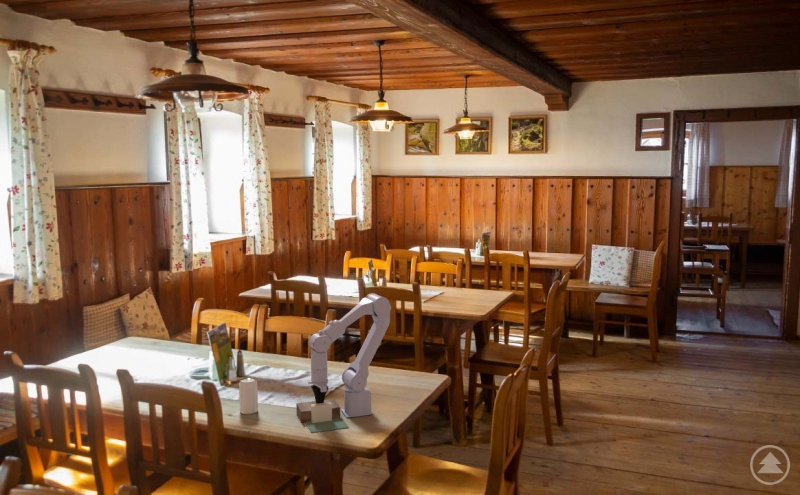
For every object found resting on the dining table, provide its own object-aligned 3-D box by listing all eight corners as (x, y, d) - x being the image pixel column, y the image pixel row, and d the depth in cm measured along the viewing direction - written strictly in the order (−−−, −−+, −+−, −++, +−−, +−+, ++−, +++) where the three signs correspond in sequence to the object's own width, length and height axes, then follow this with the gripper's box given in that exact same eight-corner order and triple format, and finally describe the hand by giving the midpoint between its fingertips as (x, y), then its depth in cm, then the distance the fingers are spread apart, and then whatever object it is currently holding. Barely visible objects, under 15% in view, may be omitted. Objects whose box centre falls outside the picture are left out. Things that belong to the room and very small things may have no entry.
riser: (334, 409, 246) (334, 398, 245) (340, 418, 237) (340, 407, 237) (296, 413, 241) (296, 403, 241) (301, 422, 233) (301, 411, 232)
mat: (341, 418, 237) (341, 417, 237) (348, 427, 228) (348, 427, 228) (305, 422, 233) (305, 421, 233) (311, 432, 224) (311, 432, 224)
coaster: (330, 402, 235) (331, 404, 233) (330, 418, 236) (331, 420, 234) (310, 404, 233) (312, 406, 231) (311, 420, 234) (312, 423, 232)
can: (259, 408, 247) (258, 376, 246) (256, 414, 241) (255, 382, 239) (241, 408, 247) (240, 377, 245) (238, 415, 240) (237, 382, 239)
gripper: (304, 363, 240) (304, 400, 242) (312, 375, 226) (312, 413, 228) (323, 361, 242) (323, 397, 244) (332, 373, 229) (332, 411, 230)
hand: (319, 405), depth 236 cm, fingers closed
